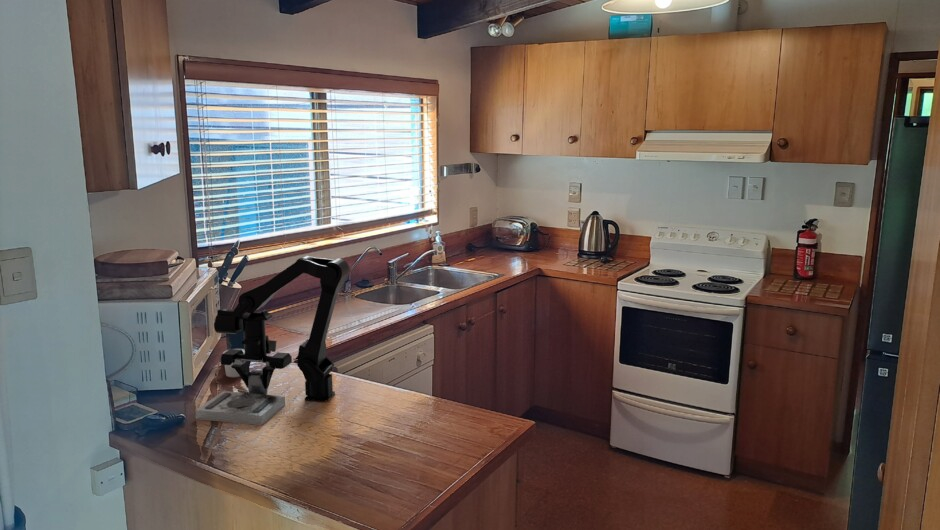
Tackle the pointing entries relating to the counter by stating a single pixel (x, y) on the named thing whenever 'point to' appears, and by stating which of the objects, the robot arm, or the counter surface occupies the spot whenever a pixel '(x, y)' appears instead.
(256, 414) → the jig
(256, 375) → the bushing
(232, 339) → the soda can
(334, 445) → the counter surface
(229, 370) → the white cylinder
